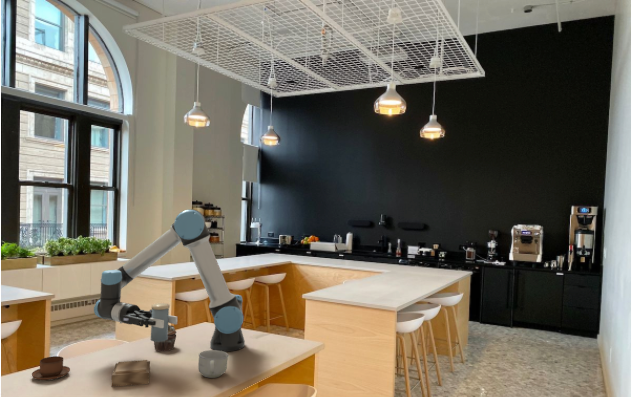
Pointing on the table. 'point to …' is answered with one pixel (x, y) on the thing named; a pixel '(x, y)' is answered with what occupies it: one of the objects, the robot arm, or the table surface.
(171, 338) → the cupcake
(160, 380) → the table surface
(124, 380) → the pedestal
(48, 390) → the table surface
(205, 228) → the robot arm
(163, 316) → the canister
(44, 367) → the cup and saucer
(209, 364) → the teacup
